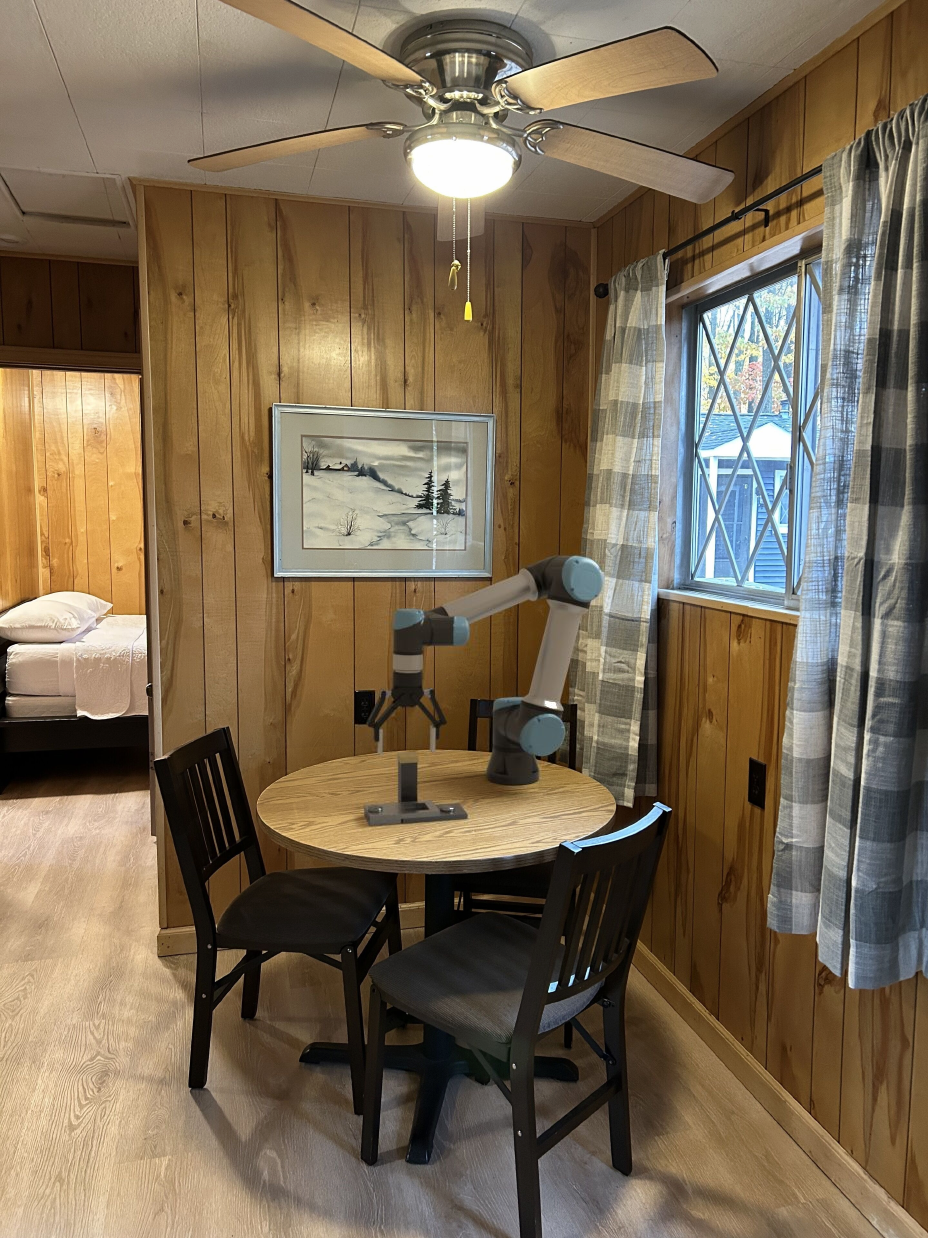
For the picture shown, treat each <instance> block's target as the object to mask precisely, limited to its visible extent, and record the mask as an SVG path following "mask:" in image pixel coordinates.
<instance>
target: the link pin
mask: <svg viewBox="0 0 928 1238" xmlns="http://www.w3.org/2000/svg"><path fill="white" fill-rule="evenodd" d="M396 759H397V803H399V802H413V801H418V769H419V768H418V763H419V755H418V754H417V753H416V752H415V751H411V752H397V753H396Z"/></svg>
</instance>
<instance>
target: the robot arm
mask: <svg viewBox="0 0 928 1238" xmlns="http://www.w3.org/2000/svg"><path fill="white" fill-rule="evenodd" d="M603 587H604V574H603V572H602V570H601V568H600V566H599V564H598V563H596V562H595V561H594V560H593V559H591V558H589V557H584V556H582V555H581V556H580V555H563V554H558V555H552V556H549V557H546V558H544V559H542V560H539V561H537V562H535V563H533V564H531V565H527V566H525V567H523V568H521V569H520V570H519V571H518V574H516V575H513V576H511V577H509V578H508V577H507V578H506V579H503V580H501V581H498V582H496V583H494V584H491V585H489V586H488V585H487V586H486V587H483V588H481V589H479V590H477V591H474V592H472V593H469V594H467V595H464V596H462V597H460V598H457V599H455V600H452V601H449V602H447V603H445V604H441V605H440V606H438V607H435V608H432V609H429V610H426V609H425V610H423V609H418V608H399V609H397V610H395V611H394V614H393V622H392V624H393V625H392V629H393V630H392V634H393V635H392V637H393V640H392V641H393V644H392V647H393V648H392V649H393V652H392V654H393V655H392V669H393V670H394V671H392V688H391V689H390V690H385V689H383V688H381V689H380V690H379V693H378V694H379V696H378V699H377V700H376V703H375V705H374V707H373V709H372V711H371V713H370V715H369V717H368V718H367V721H366V725H367V727H368V728H371V729H373V741H374V742H375V743H377V754H378V756H383V738H384V737H383V731H384V730H383V728H382V726H383V725H384V724H385V723H386V721H387V720H388V719H389V718H390V717H391V716H392V714H393V713H394V712H395V711H396V710H397V709H398V708H399V707H400V708H402V709H403V708H415V707H416V706H417V707H418V708H419V709H420V711H422V713H423V714H424V715H425V717H426V718H427V719H428V720H429V721H430V722H431V723H432V725H430V727H429V733H430V734H429V735H430V736H429V741H430V742H429V751H430V753H432V754H435V753H436V740H439V739H440V728H441V726H443V725H444V726H445V725H446V724H448V723H447V720H446V717H445V714H444V713H443V711H442V709H441V707H440V704H439V703H438V701H437V698H436V692H435V689H433V688H432V687H429V688H428V689H424V687H423V679H424V678H423V675H424V674H423V672H422V670H423V669H424V666H423V665H424V663H423V662H424V661H423V660H424V658H423V657H424V656H423V655H424V647H450V646H451V647H456V646H464V645H466V644H467V643H468V640H469V638H470V624H473V623H475V622H477V621H480V620H482V619H485V618H487V617H489V616H491V615H494V614H496V613H499V612H502V611H504V610H506V609H508V608H512V607H513V606H515V605H518V604H521V603H523V602H526V601H528V600H530V601H531V602H535V601H537V600H540V599H544V598H546V602H547V604H548V605H549V613H548V617H547V621H546V624H545V629H544V633H543V636H542V640H541V644H540V648H539V652H538V655H537V660H536V664H535V668H534V672H533V676H532V680H531V684H530V687H529V692H528V694H526V695H525V696H522V697H521V696H520V697H519V696H514V697H512V696H511V697H501V698H497V699H495V700H494V701H493V705H492V706H493V707H492V708H493V709H492V752H491V755H490V757H489V761H488V764H487V767H486V772H485V774H486V775H485V776H486V779H487V780H488V781H489V782H492V783H496V784H501V785H508V786H509V785H510V786H513V785H514V786H515V785H516V786H517V785H527V784H528V785H529V784H533V783H536V782H537V781H539V780H540V777H541V776H540V768H539V764H538V761H537V758H536V756H539V757H544V756H549V755H551V754H553V753H555V752H556V751H557V750H558V749H559V748H560V747H561V746H562V744H563V742H564V741H565V737H566V727H565V725H564V722H563V720H562V717H563V714H564V713H563V712H564V710H565V709H564V707H563V706H562V703H561V697H562V694H563V692H564V691H563V690H564V686H565V683H566V680H567V679H566V678H567V674H568V670H569V667H570V662H571V659H572V654H573V651H574V647H575V642H576V639H577V635H578V631H579V628H580V627H579V626H580V624H581V623H580V622H581V620H582V619H581V618H582V616H583V615H584V614H586V613H587V612H589V611H590V607H591V603H592V601H593V600H595V599H596V598H597V597H599V595H600V594H601V593H602V590H603ZM424 695H425V696H426V697H427V698H428V699H429V701H430V703H431V706H432V707H433V709H434V712H435V714H436V715H437V718H438V720H437V719H436V718H435V716H434V715H433V714H432V713H431V712H430V710H429V709H428V708H427V707H426V706H425V705H424V703H423V701H421V700H422V698H423V697H424ZM389 696H391V698H392V699H393V700H392V701H391V702H390V704H389V705H388V707H387V708H386V709H385V710H384V711H383V713H382V714H381V715H380V714H379V713H380V712H381V710H382V708H383V706H384V704H385V702H386V700H387V699H388V698H389ZM379 715H380V716H379ZM378 716H379V717H378Z"/></svg>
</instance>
